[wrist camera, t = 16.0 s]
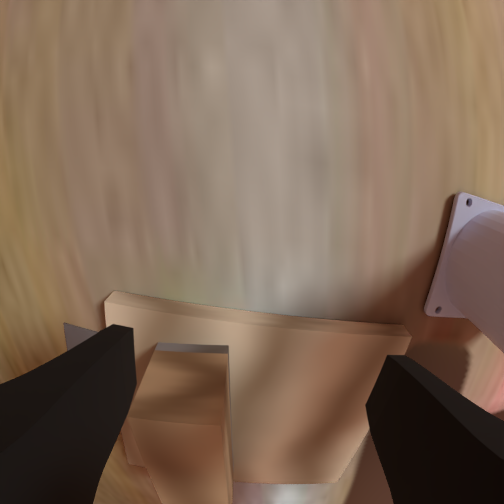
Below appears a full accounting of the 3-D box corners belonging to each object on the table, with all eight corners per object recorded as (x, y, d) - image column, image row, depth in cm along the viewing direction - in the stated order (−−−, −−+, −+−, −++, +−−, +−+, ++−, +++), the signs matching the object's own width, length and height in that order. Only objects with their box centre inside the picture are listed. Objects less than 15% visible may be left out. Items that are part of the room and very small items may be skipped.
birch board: (402, 324, 19) (412, 336, 17) (333, 470, 24) (336, 482, 22) (113, 290, 18) (104, 301, 16) (132, 451, 23) (128, 463, 21)
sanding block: (228, 345, 17) (221, 425, 12) (233, 465, 21) (231, 529, 15) (158, 342, 17) (127, 416, 12) (182, 462, 21) (172, 524, 15)
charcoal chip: (118, 331, 19) (115, 336, 19) (121, 376, 21) (118, 381, 20) (67, 318, 19) (63, 323, 19) (73, 363, 20) (70, 368, 20)
